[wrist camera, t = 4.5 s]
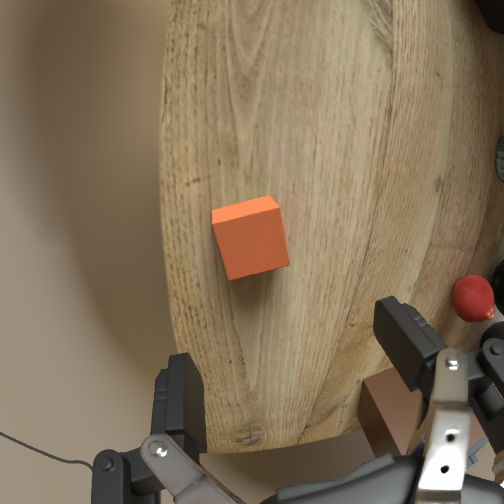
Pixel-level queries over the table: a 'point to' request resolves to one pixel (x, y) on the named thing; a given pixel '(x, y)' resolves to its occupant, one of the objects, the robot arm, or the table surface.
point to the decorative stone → (499, 287)
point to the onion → (473, 299)
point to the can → (500, 158)
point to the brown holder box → (398, 416)
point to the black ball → (493, 333)
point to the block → (250, 237)
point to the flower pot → (493, 13)
